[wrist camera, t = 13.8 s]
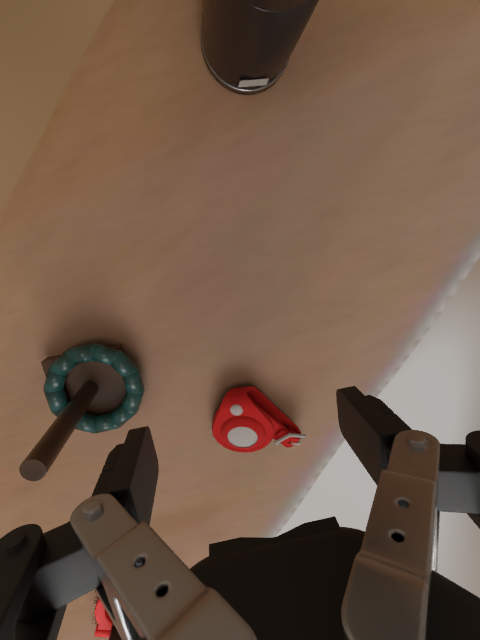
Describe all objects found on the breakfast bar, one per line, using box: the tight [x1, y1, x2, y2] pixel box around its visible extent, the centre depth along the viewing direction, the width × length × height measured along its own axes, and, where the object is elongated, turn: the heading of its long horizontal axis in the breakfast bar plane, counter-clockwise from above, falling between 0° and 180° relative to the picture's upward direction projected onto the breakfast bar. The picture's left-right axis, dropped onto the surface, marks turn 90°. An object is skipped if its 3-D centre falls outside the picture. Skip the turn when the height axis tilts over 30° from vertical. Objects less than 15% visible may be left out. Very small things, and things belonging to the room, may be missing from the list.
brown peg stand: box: [20, 344, 126, 481], centre depth 35 cm, size 9×9×16 cm
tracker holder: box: [212, 386, 306, 452], centre depth 45 cm, size 12×4×10 cm
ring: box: [44, 343, 144, 433], centre depth 41 cm, size 11×11×2 cm
